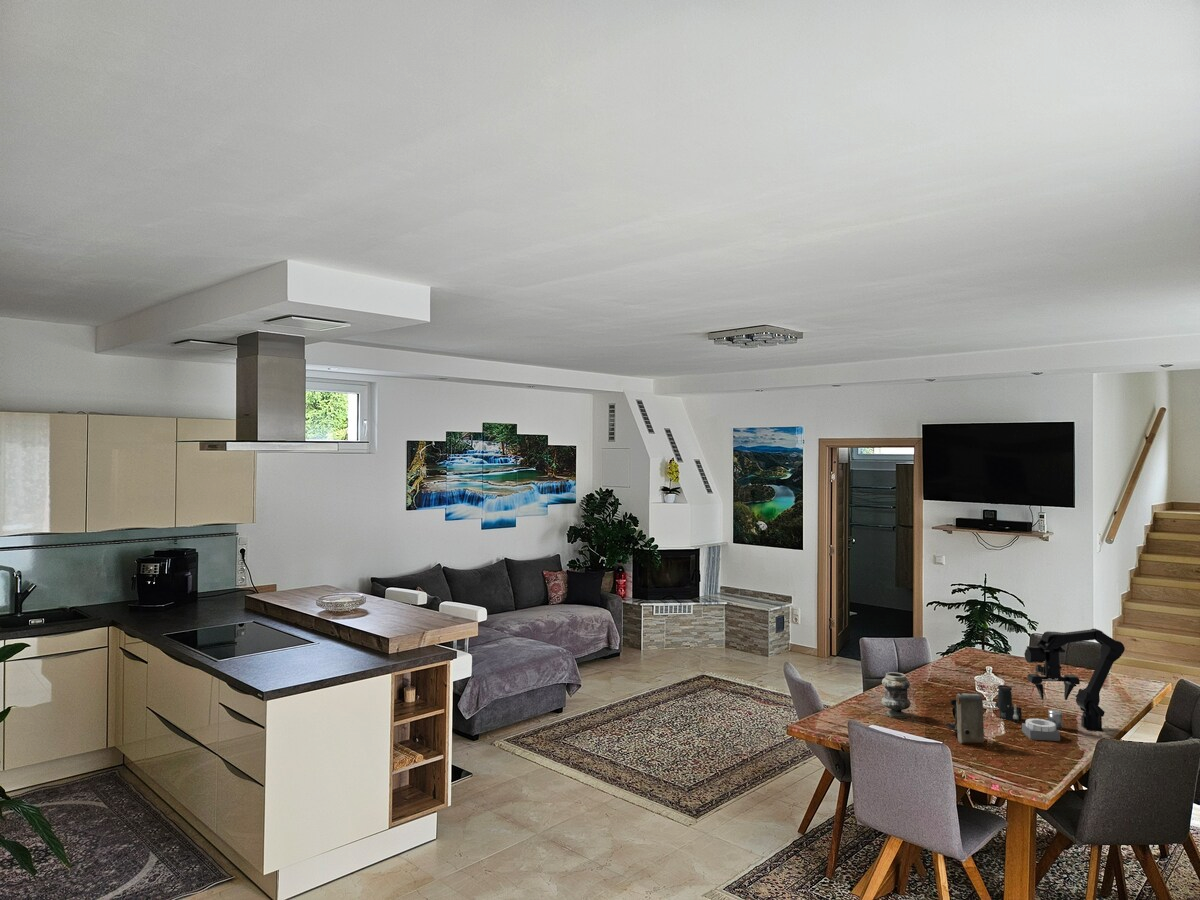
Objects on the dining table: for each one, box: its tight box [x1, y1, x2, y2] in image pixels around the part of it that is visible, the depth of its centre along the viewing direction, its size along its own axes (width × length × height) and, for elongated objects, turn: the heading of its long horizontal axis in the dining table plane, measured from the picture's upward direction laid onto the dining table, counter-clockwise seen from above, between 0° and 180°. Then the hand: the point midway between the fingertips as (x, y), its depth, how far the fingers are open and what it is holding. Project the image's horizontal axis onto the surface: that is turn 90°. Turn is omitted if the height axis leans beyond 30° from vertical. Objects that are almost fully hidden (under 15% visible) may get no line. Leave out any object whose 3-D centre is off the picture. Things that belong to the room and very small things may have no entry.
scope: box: [994, 684, 1023, 724], centre depth 345 cm, size 8×14×10 cm
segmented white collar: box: [1021, 718, 1061, 742], centre depth 323 cm, size 11×10×6 cm
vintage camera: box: [944, 692, 985, 745], centre depth 321 cm, size 10×15×20 cm, turn 2°
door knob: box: [1047, 708, 1063, 731], centre depth 333 cm, size 5×5×7 cm
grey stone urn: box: [881, 671, 912, 719], centre depth 351 cm, size 12×12×18 cm
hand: (1053, 699), depth 334 cm, fingers open, 9 cm apart
